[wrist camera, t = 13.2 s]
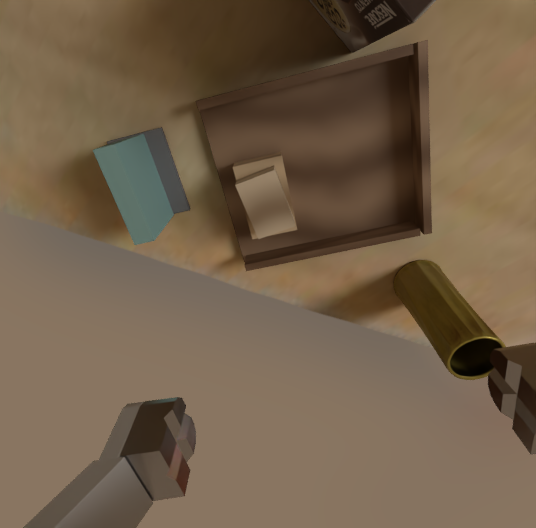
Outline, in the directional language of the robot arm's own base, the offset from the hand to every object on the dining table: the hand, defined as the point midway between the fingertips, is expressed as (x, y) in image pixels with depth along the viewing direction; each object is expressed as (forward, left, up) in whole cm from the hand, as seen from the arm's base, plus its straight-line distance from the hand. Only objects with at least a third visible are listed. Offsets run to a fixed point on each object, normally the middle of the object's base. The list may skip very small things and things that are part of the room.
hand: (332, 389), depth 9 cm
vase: (+18, +13, -32) cm, 39 cm away
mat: (-2, -15, -32) cm, 35 cm away
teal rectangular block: (-2, -15, -31) cm, 35 cm away
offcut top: (+3, -3, -28) cm, 29 cm away
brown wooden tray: (+1, +3, -32) cm, 32 cm away
